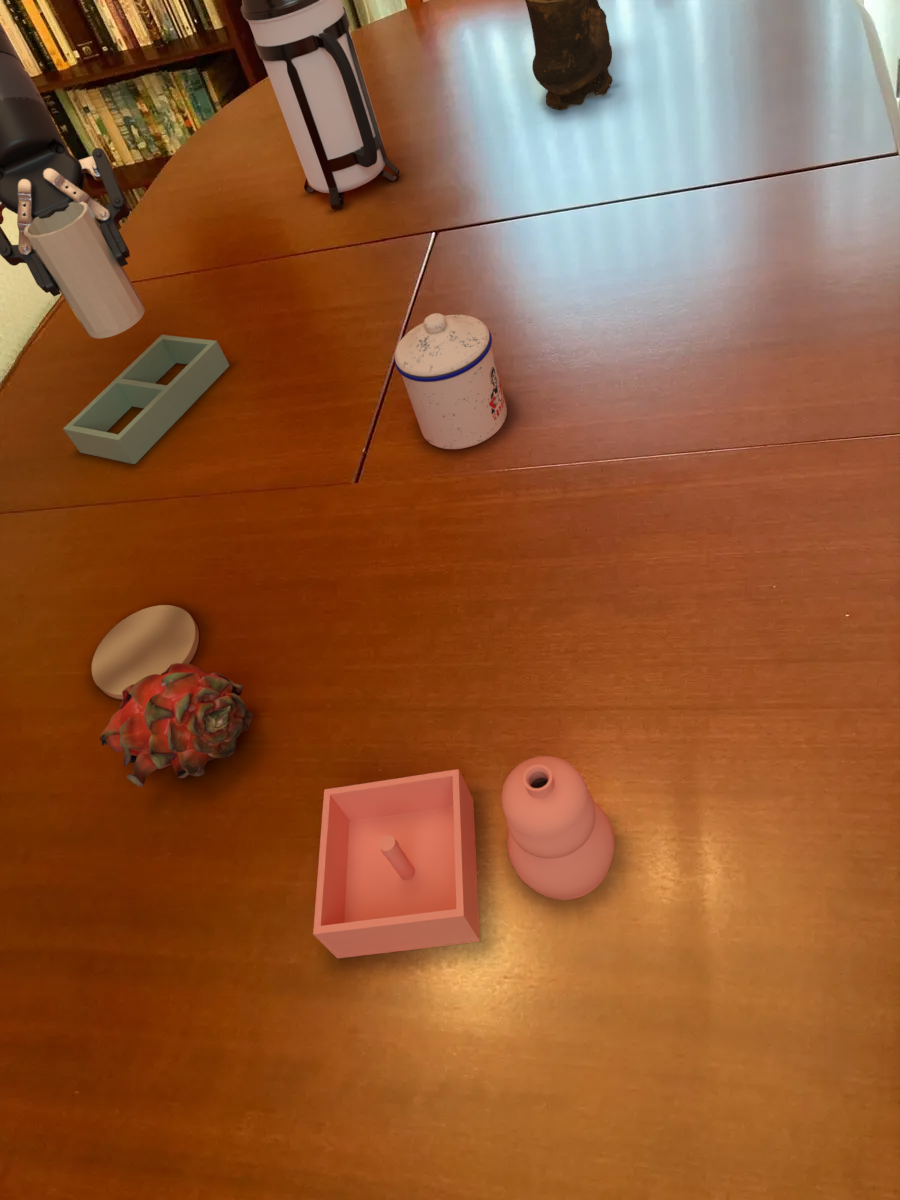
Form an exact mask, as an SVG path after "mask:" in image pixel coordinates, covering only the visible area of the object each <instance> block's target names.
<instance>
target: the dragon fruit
mask: <svg viewBox="0 0 900 1200" xmlns="http://www.w3.org/2000/svg"><path fill="white" fill-rule="evenodd" d="M243 688H244V685H243V684H241V683H240V684H238V683H235V682H234V681H232V680H231V679H229V678H228V677H227V676H225V675H224V674H222V673H219V672H211V673H206V672H205V671H204V669H202V668H201V667H199V666H196V665H194V664H192V663H189V664H183V663H175V664H171V665H170V667H169V668H168V669H167V670H166V671H165V672H163V673H162V674H161V675H159V674H153V675H149V676H146V677H144V678H143V679H141V680H140V681H138V682H137V683H135V684H132V685H130V686H129V687H127V688H125V689H124V690H123V692H122V694H123V700H122V699H121V700H122V701H121V702H120V705H119V708H118V709H117V711H115V713H113V714H112V715H111V717H110V719H109V722H108V724H107V726H106V727H104V729H103V730H102V732H101V734H100V736H99V743H100V742H101V747H103V746H104V745H105V746H108V747H109V748H110V749H111V750H112V751H114V752H115V753H122V752H123V753H124V756H123V757H124V758H123V763H122V764H123V765H122V766H123V767H125V766H129V764H130V763H131V764H133V774H131V773H129V774H126V779H127V780H129V782H131V783H132V784H133V785H135V786H137V787H139V788H141V787H142V788H143V787H144V786H145V783H146V779H147V778H148V776H149V775H150V774H152V773H153V772H155V771H156V770H160V769H161V770H162V769H164V768H166V767H169V766H172V769H173V771H174V773H175V775H176V777H177V778H178V779H186V778H187V777H188V776H192V777H201V776H203V775H205V774H206V772H205V767H206V765H207V763H208V762H209V761H212V760H215V759H223V758H228V757H231V756H232V755H233V754H235V753H236V751H237V746H236V744H237V738H238V737H239V736H240V735H241V733H243V732H246V731H247V730H249V728H250V725H251V723H252V719H253V717H254V714H253V713H252V712H251V711H250V710H249V709H248V708H247V707H246V703H245V701H244V700H243V699H242V698H241V697H240V696H241V695H242V693H243ZM98 756H99V757H100V756H101V754H99V755H98Z"/></svg>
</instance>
